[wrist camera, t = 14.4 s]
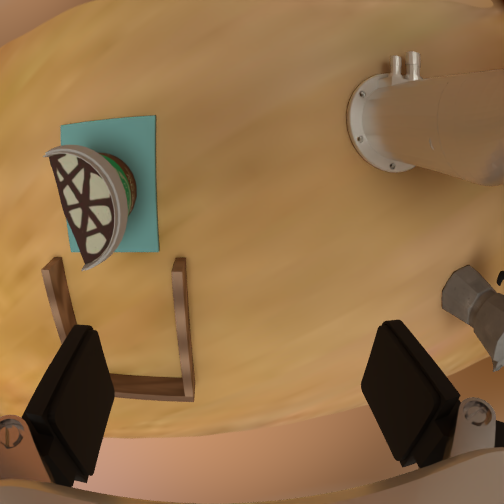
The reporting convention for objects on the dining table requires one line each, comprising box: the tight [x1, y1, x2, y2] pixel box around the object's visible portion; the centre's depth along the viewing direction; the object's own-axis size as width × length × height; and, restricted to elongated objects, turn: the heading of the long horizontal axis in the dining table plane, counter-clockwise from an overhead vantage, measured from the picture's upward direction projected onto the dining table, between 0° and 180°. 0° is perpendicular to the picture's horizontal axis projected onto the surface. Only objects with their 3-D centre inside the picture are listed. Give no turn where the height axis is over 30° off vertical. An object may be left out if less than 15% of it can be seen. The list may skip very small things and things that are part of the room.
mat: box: [61, 116, 159, 252], centre depth 34 cm, size 16×12×1 cm
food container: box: [43, 145, 137, 271], centre depth 29 cm, size 12×6×10 cm, turn 13°
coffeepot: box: [442, 265, 504, 372], centre depth 36 cm, size 15×9×18 cm, turn 175°
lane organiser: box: [41, 257, 195, 402], centre depth 39 cm, size 21×18×4 cm
